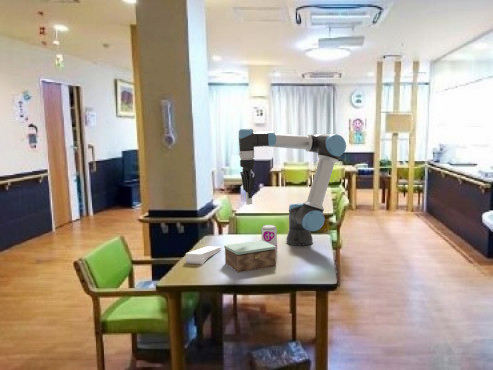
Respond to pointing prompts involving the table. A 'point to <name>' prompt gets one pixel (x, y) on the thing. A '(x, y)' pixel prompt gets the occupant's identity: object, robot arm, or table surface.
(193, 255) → the white rectangular bar
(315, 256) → the table surface
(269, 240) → the supplement can
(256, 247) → the lid
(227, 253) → the walnut box
